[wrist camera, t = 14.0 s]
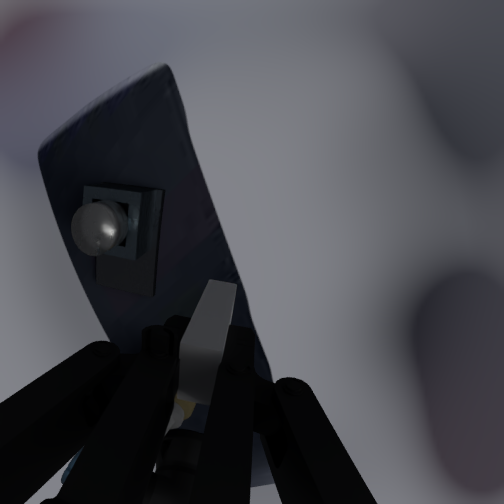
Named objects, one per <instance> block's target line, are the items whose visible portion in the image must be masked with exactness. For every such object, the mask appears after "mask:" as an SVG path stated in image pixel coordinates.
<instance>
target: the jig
mask: <svg viewBox="0 0 504 504" xmlns="http://www.w3.org/2000/svg"><path fill="white" fill-rule="evenodd" d="M164 196H165V190H162V189H155V188H147V187H140V186H132V185H124V184H116V183H107V182H103V183H101V184H93V185H85V186H84V193H83V205H86V204H90V203H94V202H98V201H102V200H111V201H114V202H116V203H117V204H121V203H129V210H128V231H127V235H126V237H125V239H124V240H123V241H122V242H121V243H120V244H119V245H117V246H115V247H114V248H112V249H110V250H109V251H107V252H105V253H103V254H102V255H98V256H96V284H99V285H102V286H106V287H111V288H115V289H119V290H123V291H127V292H131V293H136V294H140V295H144V296H149V297H153V296H154V295H155V289H156V274H157V262H158V250H159V240H160V230H161V221H162V212H163V204H164Z"/></svg>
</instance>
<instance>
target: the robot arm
mask: <svg viewBox="0 0 504 504" xmlns="http://www.w3.org/2000/svg"><path fill="white" fill-rule="evenodd" d="M236 288H237V284H233V283H227V282H222V281H216V280H211V279H210V280H209V282H208V284H207V286H206V288H205V290H204V292H203V295H202V297H201V299H200V301H199V303H198V305H197V307H196V310H195V312H194V314H193V316H192V318H188V317H183V316H178V315H174V316H172V317H170V318H168V319H167V321H166V322H165V324H164V326H161V325H153V326H148V327H145V328H144V329H143V330H142V350H141V352H140V353H139V354H120V350H119V348H118V346H117V345H115V344H114V343H111V342H108V341H95V342H93V343H90V344H88V345H87V346H85V347H84V348H83V349H81V350H79V351H78V352H76V353H75V354H73V355H72V356H70V357H69V358H67V359H66V360H64V361H63V362H61V363H60V364H58V365H57V366H55V367H54V368H52V369H51V370H49V371H48V372H46V373H45V374H43V375H42V376H40V377H39V378H37V379H36V380H34V381H33V382H31V383H30V384H28V385H27V386H25V387H24V388H22V389H21V390H19V391H18V392H16V393H15V394H14V395H12V396H10V397H9V398H7V399H6V400H4V401H3V402H1V403H0V504H24V503H25V502H26V501H27V500H28V499H29V498H30V497H32V496H33V495H34V494H35V493H36V492H37V491H38V490H39V489H40V488H41V487H42V486H43V485H44V484H45V483H46V482H47V481H48V480H49V479H50V478H51V477H53V476H54V475H55V474H56V473H57V472H58V471H59V470H60V469H61V468H62V467H63V466H64V465H65V464H66V463H67V462H68V461H69V460H70V459H71V458H72V457H73V456H74V455H75V454H76V453H77V454H76V455H75V456H74V457H73V459H72V460H71V462H70V463H69V465H68V467H67V468H66V470H65V471H64V473H63V475H62V478H61V483H62V484H63V485H62V487H61V489H60V491H59V493H58V494H57V496H56V497H54V498H51V499H45V500H44V501H42V502H41V503H40V504H250V487H251V466H252V444H253V431H254V432H257V433H260V439H261V442H262V445H263V448H264V451H265V454H266V457H267V460H268V464H269V467H270V470H271V473H272V476H273V479H274V482H275V485H276V487H277V490H278V493H279V496H280V499H281V502H282V504H377V502H376V501H375V499H374V497H373V496H372V494H371V492H370V490H369V489H368V487H367V485H366V484H365V482H364V480H363V479H362V477H361V475H360V473H359V472H358V470H357V468H356V466H355V465H354V463H353V461H352V460H351V458H350V456H349V454H348V453H347V451H346V449H345V447H344V446H343V444H342V442H341V440H340V439H339V437H338V435H337V433H336V432H335V430H334V428H333V426H332V425H331V423H330V421H329V419H328V418H327V416H326V414H325V412H324V410H323V409H322V407H321V405H320V404H319V402H318V400H317V398H316V396H315V395H314V393H313V391H312V389H311V388H310V387H309V385H308V384H307V383H305V382H304V381H302V380H300V379H296V378H291V377H286V378H281V379H279V380H277V381H276V383H272V382H270V381H267V380H265V379H263V378H261V377H260V376H259V375H258V374H257V373H256V372H255V368H254V347H255V334H254V332H253V331H252V329H251V328H246V327H241V326H235V325H230V324H231V318H232V312H233V306H234V300H235V294H236ZM176 393H177V399H181V400H186V401H190V402H195V403H200V404H205V405H210V407H209V412H208V417H207V421H206V426H205V431H204V435H203V434H200V433H197V432H193V431H188V430H170V431H168V432H167V434H166V435H165V433H166V430H167V427H168V424H169V421H170V418H171V415H172V412H173V409H174V398H175V396H176ZM83 446H84V447H83ZM155 463H156V471H155V473H154V472H153V469H154V466H155Z"/></svg>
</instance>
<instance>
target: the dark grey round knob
mask: <svg viewBox="0 0 504 504" xmlns="http://www.w3.org/2000/svg"><path fill="white" fill-rule="evenodd" d="M128 210H129V203H121V204H117V203H116V202H114V201H111V200H102V201H98V202H94V203H90V204H86V205H83V206H81V207H80V208H79V209H78V210H77V211H76V212H75V214H74V216H73V219H72V224H71V231H72V236H73V239H74V241H75V243H76V245H77V246H78V248H79V249H80V250H81V251H83V252H84V253H86V254H88V255H91V256H98V255H102V254H103V253H105V252H107V251H109V250H110V249H112V248H114V247H115V246H117V245H119V244H120V243H121V242H122V241H123V240H124V239H125V237H126V235H127V231H128Z"/></svg>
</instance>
